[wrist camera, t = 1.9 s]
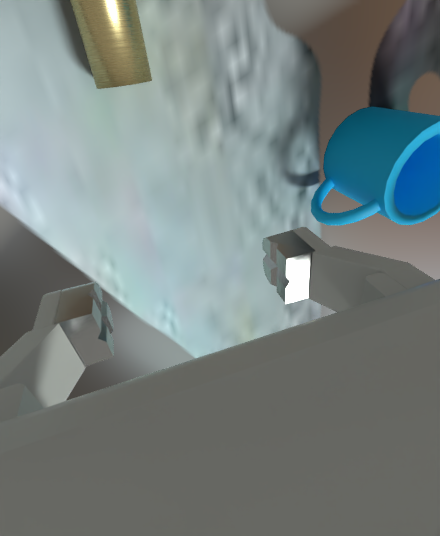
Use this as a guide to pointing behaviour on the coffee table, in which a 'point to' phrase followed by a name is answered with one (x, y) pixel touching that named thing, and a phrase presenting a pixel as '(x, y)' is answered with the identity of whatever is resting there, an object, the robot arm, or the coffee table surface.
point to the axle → (112, 41)
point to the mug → (383, 166)
